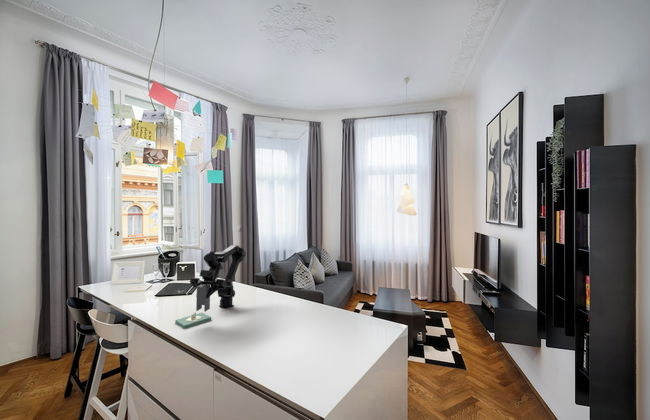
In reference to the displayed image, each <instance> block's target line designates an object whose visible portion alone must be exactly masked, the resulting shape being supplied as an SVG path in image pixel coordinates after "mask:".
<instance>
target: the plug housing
mask: <svg viewBox="0 0 650 420" xmlns="http://www.w3.org/2000/svg"><path fill="white" fill-rule="evenodd" d="M210 287H211V285H199V286H197V287H196V295H197V297H196V307H195V308H196V309H195V311H196V312H198V311H200V310H201V309H203V307H204V312H207V311H208V310H210V309H211V308H210V306H211V296H210V297H209V298H208V299H207V298H206V296H207V294H208V292H209V289H210ZM204 312H203V313H204Z"/></svg>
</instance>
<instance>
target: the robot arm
mask: <svg viewBox="0 0 650 420" xmlns="http://www.w3.org/2000/svg"><path fill="white" fill-rule="evenodd" d="M246 254H247V253H246V251H245V249H244V248H243V247H241V246H239V245H238V244H230V245H229V246H228V247H227V248H225V249H224V250H223V251H222V250H221V251H217V252H215V251H210V252H209V253H206V254H205V255H204V256H203V261H204V262H205V263H206V265H207V266H208V267H209V269H207V270H206V269H201V270H200V272H199V277H200V278H202V280H201V279H200V278H199V277H192V278H191V279H190V280H189V284H191V286H192V287H193V288H197V286H199V285H210V289H209V292H208V294H207V296H206V298H207V299H208V298H209V297H210V298H211V296H212V295H213V294H215V293H216V292H217V295H218V298H220V299H219V305H218V307H220V308H222V309H229V308H231V307H235V305H234V304H233V298H234V297H235V296H236V291H235V289H234V284H233V281H234V279H235V277H236V274H237V271H238V268H239V265H240V263H241V262H242V261H243V260H244V259H245V257H246ZM230 256H231V263H230V266H229V268H228V270H227V273H226V276H225V279H224V278H223V279H222V278H219V274H220V272H221V270H223V269H224V267H223V265H222V264H226V262H227V261H228V260H229V257H230ZM195 296H196V298H197V294H195Z"/></svg>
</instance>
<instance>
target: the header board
mask: <svg viewBox="0 0 650 420" xmlns="http://www.w3.org/2000/svg"><path fill="white" fill-rule="evenodd" d="M211 320H212V317H211V315H207V314H206V313H204V312H199V313H197V312H193V313H192V314H190V315H189V316H185V317H182V318H177V319H175V320H174V321H175V324H176V325H178V326H179V327H180V328H182V329H187V328H191V327H193V326H196V325H199V324H202V323H205V322H209V321H211Z"/></svg>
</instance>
